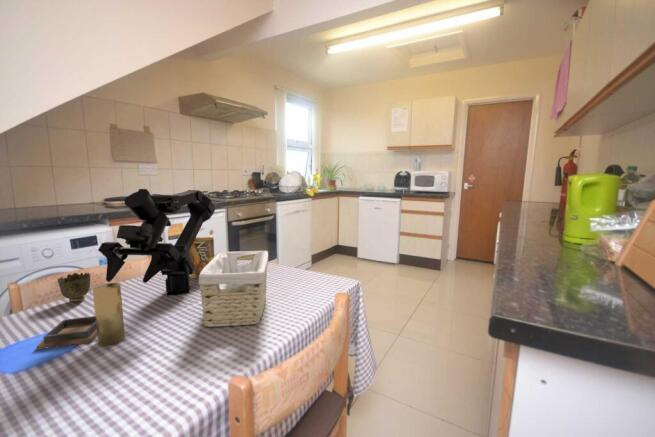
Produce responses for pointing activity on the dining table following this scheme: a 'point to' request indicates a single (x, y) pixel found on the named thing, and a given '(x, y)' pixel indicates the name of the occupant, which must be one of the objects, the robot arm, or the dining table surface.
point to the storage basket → (234, 288)
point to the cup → (75, 286)
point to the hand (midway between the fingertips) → (125, 281)
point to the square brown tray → (71, 332)
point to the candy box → (201, 253)
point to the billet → (108, 314)
